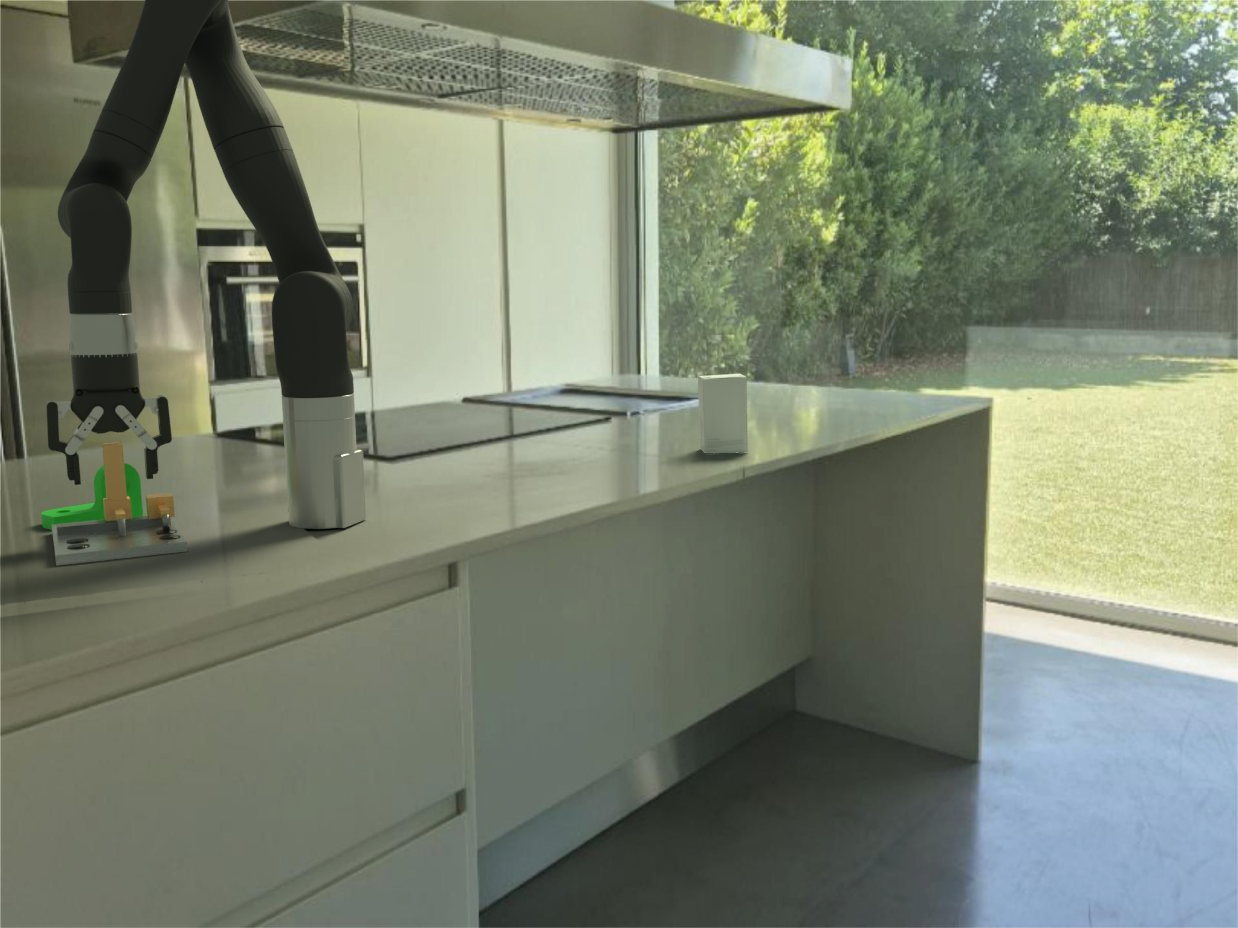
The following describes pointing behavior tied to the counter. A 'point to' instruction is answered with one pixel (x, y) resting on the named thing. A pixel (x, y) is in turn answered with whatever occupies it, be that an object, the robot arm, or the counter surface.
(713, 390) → the skincare box
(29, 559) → the counter surface
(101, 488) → the mechanical part
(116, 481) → the leg
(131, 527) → the plate
